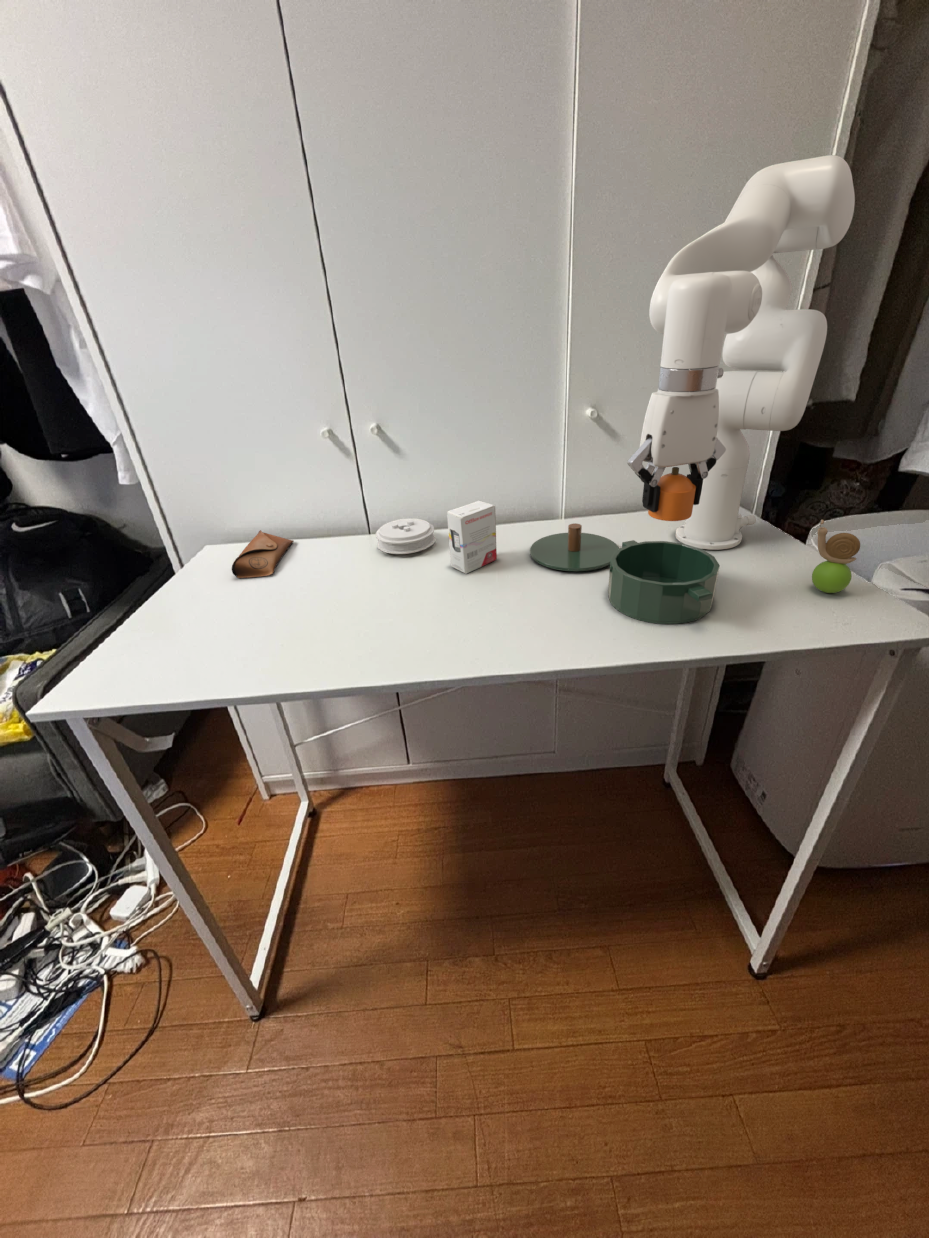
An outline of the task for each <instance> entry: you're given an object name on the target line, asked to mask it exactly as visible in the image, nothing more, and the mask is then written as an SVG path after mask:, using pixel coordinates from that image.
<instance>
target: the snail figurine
mask: <svg viewBox="0 0 929 1238" xmlns="http://www.w3.org/2000/svg"><path fill="white" fill-rule="evenodd" d="M819 524H820V525H819V528H818V529H817V532H816V534H817V549H818V550H817V551H818V554H819V556H820V557H821V558H822V559H824V561H822V562H820V563H818V564H817V565H816V567H814V569H813V570H812V573H811V581H812V584H813V586H814V587H815V588H816V589H817V590H818V591H821V592H822V593H827V594H835V593H839V592H841V591H843V590H845V589H846V588H847V587H848V586H849V584H850V583H851V581H852V575H853V574H852V571H851V569H850V566H849V565H848V564H851V563H853V562H855V561H856V560H857V558H856V557H855V556H856V555H857V554H858V553H859V551H860V550H861V541H860V539H859V538H858V537H857V536H856V535H854V534H853V533H849V532H840V533H839V532H838V533H836V534H833V535H832V536H830V538H828V540H827V535H828V533H829V532H828V531H829V530H828V529H827V527H824V526H822V525H824V524H825V519H821V520H820V521H819Z"/></svg>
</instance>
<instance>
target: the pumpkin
mask: <svg viewBox="0 0 929 1238" xmlns="http://www.w3.org/2000/svg"><path fill="white" fill-rule="evenodd" d="M679 472H680V467H679V466H672V468H671V472H669V473H666V474H664V475H662V476H661V478H660V480H659V482H658V484H657V485H658V486H660V487H661V490H660V498H659V507H658V511H657V512H651V511H650V510H648V509H647V514H648V516H649V517H650V518H653V519H655V520H658V521H664V522H682V521H685V520H686V519H688V518H690V517H691V515H692V510H693V503H694V497H695V490H696V486H695V485H694V484H692V482H691V481H690V479H689V478H687V477H686V476H687V475H685V474H682V473H679Z"/></svg>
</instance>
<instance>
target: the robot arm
mask: <svg viewBox="0 0 929 1238" xmlns="http://www.w3.org/2000/svg"><path fill="white" fill-rule="evenodd" d="M855 196H856V195H855V187H854V181H853V174H852V171H851V168H850V166H849V164H848V162H847V161H846V160H845V159H844V158H843V157H841V156H839V155H836V154H835V155H834V154H828V155H823V156H822V155H821V156H816V157H810V158H803V159H799V160H792V161H785V162H781V163H775V164H772V165H769V166H766V167H764V168H761V169H760V170H758V171H756V173H754V174H753V175H752V176H751V177H750V178H749V179H748V181H746V183H745V185H744V186H743V188H742V189H741V191H740V193H739V195H738V197H737V199H736V200H735V202H734V205H733V206H732V208H731V209H730V212H729V214H727V217H726V218H725V220H724V222H723V223H721V224H719V225H717V226H715V227H714V228H712V229H710V230H708V231H707V232H705V233H704V234H702V235H701V236H699V237H697V238H696V239H694V240H693V241H691V242H689V243H687V244H686V245H685V246H683V247H682V248H681V249H680V250H678V251H677V252H676V253H675V254H674V255H673V256H672V257H671V259H670V260H669V261H668V263H667V264H666V266H665V268H664V270H663V272H662V273H661V275H660V277H659V278H658V281H657V283H656V285H655V287H654V289H653V292H652V295H651V298H650V301H649V311H648V316H649V322H650V325H651V327H652V328H653V330H654V331H655V332H657V333H658V334H660V335H663V338H662V346H661V355H660V356H661V357H660V365H659V376H658V383H657V391H653V392H651V395H650V398H649V401H648V404H647V407H646V411H645V415H644V420H643V424H642V429H641V435H640V441H639V447H638V449H637V450H636V451H635V452H634V453H633V454H632V455H631V456H630V457H629V458H628V460H627V462H626V463H627V465H628V466H629V467H630V469H632V471H633V472H634V474H635V475H636V476H637V478H639V480H640V481H641V482H642V483H643V488H642V489H643V491H642V500H641V501H642V507H643V508H644V509H647V511H648V510H650V511H651V512H657V511H658V507H659V498H660V490H661V487H660V486H658V485H657V484H658V482H659V480H660V478H661V477H662V476H663V474H664V472H665V469H666V468H671V467H672V468H673V467H679V466H684V465H687V467H688V469H689V473H688V474H686V475H685V476H686V477H687V478H689V479H690V481H691V482H692V484H694V485H695V486H696V490H695V497H694V503H693V510H692V515H691V517H690V518H688V519H686V520H684V523H683V524H681V525H679V526H678V527H676V529H675V533H674V534H675V535H674V536H675V539H677V541H679V543H682V544H686V545H690V546H693V547H696V548H700V549H702V550H709V551H710V550H711V551H713V550H714V551H718V550H719V551H720V550H721V551H722V550H729V549H732V548H735V547H737V546H739V545H740V544H741V542H742V539H743V534H742V532H741V531H740V529H742V528H743V527H744V526H745V527H747V526H752V525H755V524H756V522H757V517H756V515H754V514H752V515H745V516H742V514H741V513H740V506H741V501H742V496H743V491H744V487H745V481H746V477H747V473H748V466H749V463H750V456H751V451H750V446H749V444H748V441H747V439H746V437H745V436H744V434H743V432H742V430H752V431H753V430H755V431H767V432H769V431H772V432H785V431H790V430H793V429H794V428H795V427H796V426H798V424H799V423H800V422H801V420H802V418H803V416H804V413H805V411H806V407H807V404H808V401H809V398H810V395H811V392H812V388H813V385H814V382H815V378H816V375H817V372H818V368H819V366H820V363H821V358H822V355H823V353H824V348H825V344H826V340H827V334H828V321H827V318H826V316H825V314H824V313H823V312H821V311H820V310H817V309H809V308H807V309H805V308H804V309H802V308H800V309H787V308H788V304H789V301H790V298H791V295H792V291H793V285H792V281H791V279H790V277H789V275H788V273H787V271H786V270H785V268H784V267H783V266H782V265H781V264H780V263H779V262H778V260H776V258H775V257H774V256H773V255H774V254H780V253H794V252H804V251H805V252H806V251H814V250H825V249H829V248H832V247H835V246H836V245H838V244H839V243H840V242H841V241H842V240H843V239H844V237H845V236H846V234H847V232H848V230H849V229H850V226H851V224H852V220H853V217H854V213H855V203H856V202H855V201H856V197H855ZM721 357H722V358H721ZM721 359H722V361H723V364H725V366H726V367H729V368H730V369H734V370H727V371H724V368H723V367H720V365H721ZM643 462H644V463H645V462H647V464H646V466H644V464H643Z"/></svg>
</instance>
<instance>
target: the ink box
mask: <svg viewBox="0 0 929 1238" xmlns="http://www.w3.org/2000/svg"><path fill="white" fill-rule="evenodd" d="M496 518H497V517H496V506H495V505H494V504H492V503H488V502H485V501H482V500H476V501H474V502H471V503H468V504H465V505H462V506H459V507H455V508H452V509H450V510H447V511H446V519H447V529H448V531H447V532H448V540H449V541H448V542H449V543H448V544H449V555H450V567H452V568H453V569H455V570H457V571H459V572H461V573H463V574H465V575H467V574H469V573H471V572H474V571H475V570H477V569H480V568H482V567H485V566H487V565H488V564H490V563H492V562H495V561H497V560H498V559H497V557H498V553H497V552H498V551H497V522H496V521H497V520H496Z"/></svg>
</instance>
